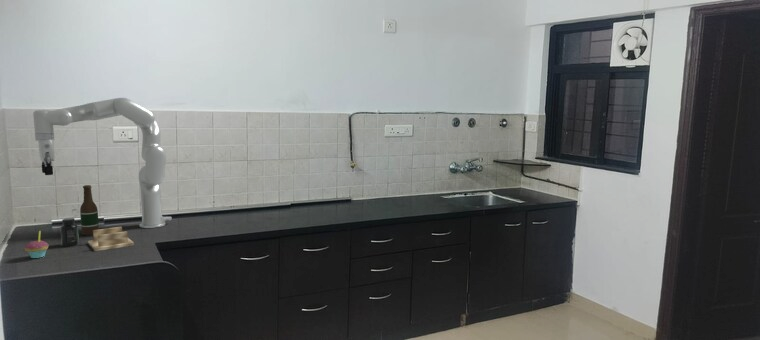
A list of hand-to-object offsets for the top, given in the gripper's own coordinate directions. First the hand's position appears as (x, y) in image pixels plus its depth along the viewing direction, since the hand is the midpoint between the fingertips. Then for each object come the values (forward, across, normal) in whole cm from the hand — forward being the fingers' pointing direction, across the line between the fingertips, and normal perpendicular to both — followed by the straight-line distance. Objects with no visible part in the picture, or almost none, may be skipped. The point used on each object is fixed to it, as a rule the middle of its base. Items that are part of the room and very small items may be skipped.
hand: (47, 173), depth 257 cm
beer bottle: (+31, 0, -16) cm, 35 cm away
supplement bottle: (+31, -17, -5) cm, 36 cm away
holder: (+31, -27, -20) cm, 46 cm away
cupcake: (+31, -31, +9) cm, 45 cm away
